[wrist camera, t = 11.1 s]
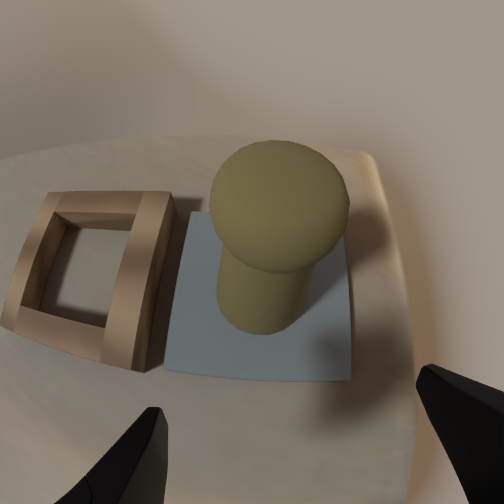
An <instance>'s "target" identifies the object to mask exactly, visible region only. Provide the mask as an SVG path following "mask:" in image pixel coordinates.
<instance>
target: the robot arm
mask: <svg viewBox="0 0 504 504" xmlns="http://www.w3.org/2000/svg"><path fill="white" fill-rule="evenodd" d="M416 389H417V391H418V394H419V396H420V398H421V401H422V403H423V405H424V407H425V410H426V412H427V415H428V417H429V420H430V422H431V423H432V425H433V427H434V429H435V431H436V433H437V435H438V437H439V439H440V441H441V443H442V445H443V447H444V449H445V451H446V453H447V455H448V457H449V459H450V461H451V463H452V465H453V467H454V470H455V472H456V474H457V476H458V478H459V481H460V483H461V485H462V487H463V490H464V492H465V495H466V497H467V500H468V502H469V504H504V392H503V391H500V390H497V389H495V388H492V387H490V386H487V385H484V384H482V383H479V382H477V381H474V380H472V379H469V378H467V377H464V376H461V375H459V374H456V373H454V372H451V371H449V370H446V369H444V368H442V367H439V366H437V365H434V364H428V365H426V366H423V367H422V368H421V371H420V373H419V376H418V378H417V381H416ZM167 470H168V424H167V421H166V418H165V416H164V413H163V411H162V409H161V408H160V407H148V408H147V409H146V410H145V411H144V412H143V413H142V414H141V415H140V416H139V417H138V419H137V420H136V421H135V422H134V423H133V424H132V425H131V426H130V427H129V429H128V430H127V431H126V432H125V433H124V434H123V435H122V436H121V437H120V438H119V440H118V441H117V442H116V443H115V444H114V445H113V446H112V447H111V448H110V449H109V450H108V451H107V453H106V454H105V455H104V456H103V457H102V458H101V459H100V460H99V461H98V462H97V463H96V464H95V465H94V466H93V468H92V469H91V470H90V471H89V472H88V473H87V474H86V476H84V477H83V478H82V479H81V480H80V481H79V482H78V483H77V484H76V485H75V486H74V487H73V488H72V489H71V490H70V491H69V492H68V493H66V494H65V495H64V496H63V497H62V498H60V499H59V500H58V501H57V502H55V503H54V504H164V495H165V486H166V478H167Z"/></svg>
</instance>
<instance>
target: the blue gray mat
mask: <svg viewBox="0 0 504 504" xmlns="http://www.w3.org/2000/svg"><path fill="white" fill-rule="evenodd" d="M222 248H223V243H222V242H221V240H220V239H219V237H218V236H217V234H216V232H215V229H214V225H213V222H212V219H211V215H210V212H197V211H191V215H190V220H189V224H188V228H187V233H186V237H185V242H184V247H183V252H182V256H181V261H180V266H179V272H178V277H177V282H176V287H175V293H174V299H173V305H172V310H171V317H170V323H169V329H168V336H167V343H166V350H165V357H164V365H163V369H165V370H170V371H176V372H183V373H190V374H197V375H205V376H213V377H223V378H233V379H246V380H262V381H288V382H323V381H348V380H351V322H350V302H349V287H348V275H347V264H346V254H345V244H344V236H343V235H342V236H341V238H340V240H339V241H338V243H337V244H336V246H335V248H334V249H333V251H332V252H331V253H330V254H328V255H327V256H326V257H324V258H323V259H321V260H320V261H319V262H317V263H316V264H315V266H314V270H313V274H312V278H311V281H310V285H309V289H308V292H307V296H306V299H305V303H304V306H303V310H302V312H301V313H300V315H299V316H298V318H297V319H296V321H295V322H294V323H293V324H291V325H290V326H289V327H287V328H286V329H285V330H283V331H280V332H277V333H274V334H271V335H253V334H250V333H246V332H243V331H240V330H239V329H237V328H236V327H235V326H233V325H232V324H231V323H229V322H228V321H227V319H226V318H225V317H224V315H223V314H222V312H221V311H220V309H219V305H218V302H217V299H216V287H217V279H218V272H219V266H220V260H221V254H222Z"/></svg>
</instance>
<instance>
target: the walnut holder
mask: <svg viewBox="0 0 504 504" xmlns="http://www.w3.org/2000/svg"><path fill="white" fill-rule="evenodd" d="M175 215H176V208H175V204H174V201H173V197H172V194H171V192H165V191H70V192H48V194H47V196H46V198H45V199H44V201H43V203H42V205H41V207H40V209H39V211H38V214H37V216H36V218H35V220H34V222H33V224H32V227H31V229H30V231H29V233H28V236H27V238H26V241H25V243H24V245H23V248H22V251H21V253H20V256H19V259H18V261H17V264H16V267H15V270H14V273H13V276H12V279H11V282H10V285H9V289H8V292H7V296H6V299H5V303H4V307H3V311H2V315H1V319H0V326H2V327H4V328H6V329H8V330H10V331H12V332H15V333H17V334H19V335H22V336H24V337H26V338H29V339H31V340H34V341H36V342H39V343H42V344H44V345H47V346H50V347H53V348H55V349H58V350H61V351H64V352H67V353H70V354H73V355H77V356H80V357H83V358H86V359H90V360H93V361H97V362H101V363H104V364H108V365H112V366H116V367H120V368H124V369H128V370H133V371H137V372H142V373H144V372H145V364H146V357H147V350H148V343H149V337H150V331H151V325H152V319H153V314H154V308H155V303H156V298H157V293H158V288H159V283H160V278H161V273H162V269H163V264H164V260H165V255H166V251H167V247H168V243H169V239H170V235H171V231H172V227H173V223H174V219H175ZM66 227H73V228H91V229H108V230H124V231H131V232H130V235H129V238H128V241H127V244H126V248H125V251H124V254H123V258H122V261H121V265H120V268H119V272H118V276H117V279H116V283H115V287H114V291H113V295H112V300H111V304H110V308H109V313H108V318H107V322H106V327H105V328H102V327H97V326H93V325H89V324H84V323H80V322H76V321H72V320H69V319H65V318H61V317H57V316H54V315H50V314H47V313H43V312H40V311H39V308H40V304H41V300H42V296H43V293H44V289H45V286H46V283H47V279H48V276H49V273H50V270H51V267H52V264H53V261H54V258H55V255H56V253H57V250H58V247H59V245H60V242H61V239H62V237H63V234H64V232H65V230H66Z"/></svg>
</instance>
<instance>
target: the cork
mask: <svg viewBox="0 0 504 504" xmlns="http://www.w3.org/2000/svg"><path fill="white" fill-rule="evenodd" d="M349 205H350V200H349V196H348V193H347V189H346V186H345V183H344V180H343V177H342V176H341V174H340V173H339V171H338V170H337V168H336V167H335V166H334V164H333V163H331V162H330V161H329V160H328V159H327V158H325V157H324V156H323V155H322V154H320V153H319V152H317V151H315V150H313V149H311V148H309V147H307V146H304V145H300V144H297V143H293V142H289V141H276V140H270V141H263V142H256V143H253V144H250V145H248V146H246V147H243V148H241V149H239V150H238V151H237V152H235V153H234V154H233V155H232V156H230V157H229V158H228V159H227V160H226V161H225V162H224V163H223V165H222V166H221V168H220V169H219V171H218V173H217V174H216V176H215V178H214V180H213V184H212V188H211V194H210V203H209V208H210V215H211V219H212V222H213V225H214V229H215V232H216V234H217V236H218V237H219V239H220V240H221V242H222V243H223V248H222V254H221V260H220V266H219V272H218V279H217V287H216V299H217V302H218V305H219V309H220V311H221V312H222V314H223V315H224V317H225V318H226V319H227V321H228V322H229V323H231V324H232V325H233V326H235V327H236V328H237V329H239V330H240V331H243V332H246V333H250V334H253V335H271V334H274V333H277V332H280V331H283V330H285V329H286V328H287V327H289V326H290V325H291V324H293V323H294V322H295V321H296V319H297V318H298V316H299V315H300V313H301V312H302V310H303V306H304V303H305V299H306V296H307V292H308V289H309V285H310V281H311V278H312V274H313V270H314V266H315V264H316V263H317V262H319V261H320V260H321V259H323V258H324V257H326V256H327V255H328V254H330V253H331V252H332V251H333V249H334V248H335V246H336V244H337V243H338V241H339V240H340V238H341V236H342V235H343V233H344V231H345V230H346V227H347V220H348V213H349Z"/></svg>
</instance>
